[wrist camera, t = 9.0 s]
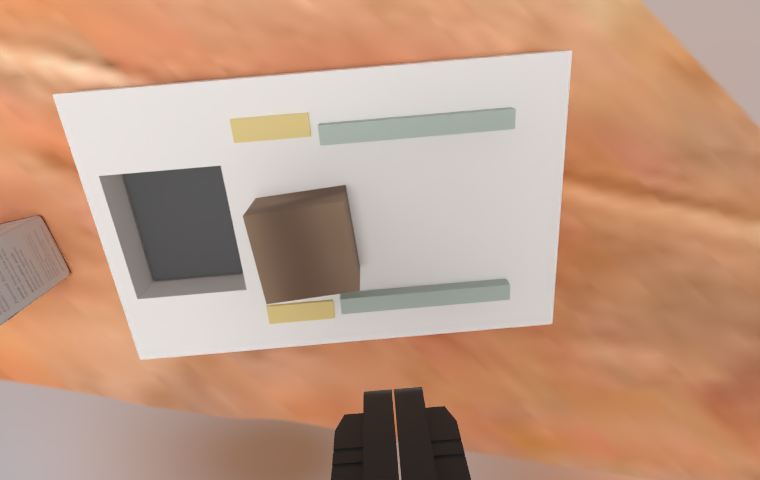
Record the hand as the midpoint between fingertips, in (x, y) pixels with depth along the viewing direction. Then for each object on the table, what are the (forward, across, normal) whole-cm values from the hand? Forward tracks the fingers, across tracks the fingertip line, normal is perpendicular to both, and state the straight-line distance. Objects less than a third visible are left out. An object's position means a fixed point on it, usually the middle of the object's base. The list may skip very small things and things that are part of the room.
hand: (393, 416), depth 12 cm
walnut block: (+15, +4, 0) cm, 16 cm away
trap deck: (+18, +3, 0) cm, 18 cm away
